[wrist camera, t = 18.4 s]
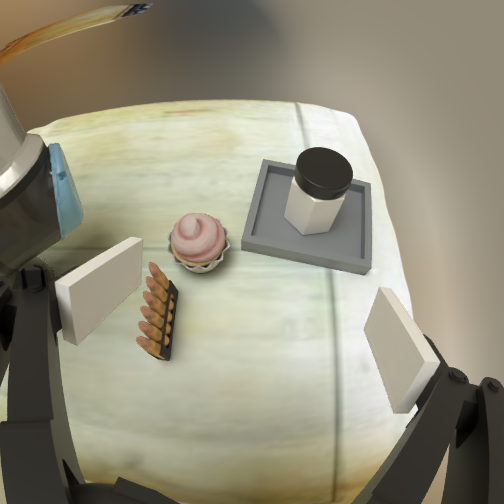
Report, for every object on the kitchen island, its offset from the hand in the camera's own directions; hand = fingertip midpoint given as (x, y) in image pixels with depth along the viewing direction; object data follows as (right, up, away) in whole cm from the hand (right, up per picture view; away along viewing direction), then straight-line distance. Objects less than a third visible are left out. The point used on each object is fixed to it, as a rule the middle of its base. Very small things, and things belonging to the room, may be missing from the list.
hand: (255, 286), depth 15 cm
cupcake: (-8, +1, +31) cm, 32 cm away
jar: (+9, +8, +34) cm, 37 cm away
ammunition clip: (-12, -9, +26) cm, 30 cm away
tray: (+10, +8, +35) cm, 37 cm away
